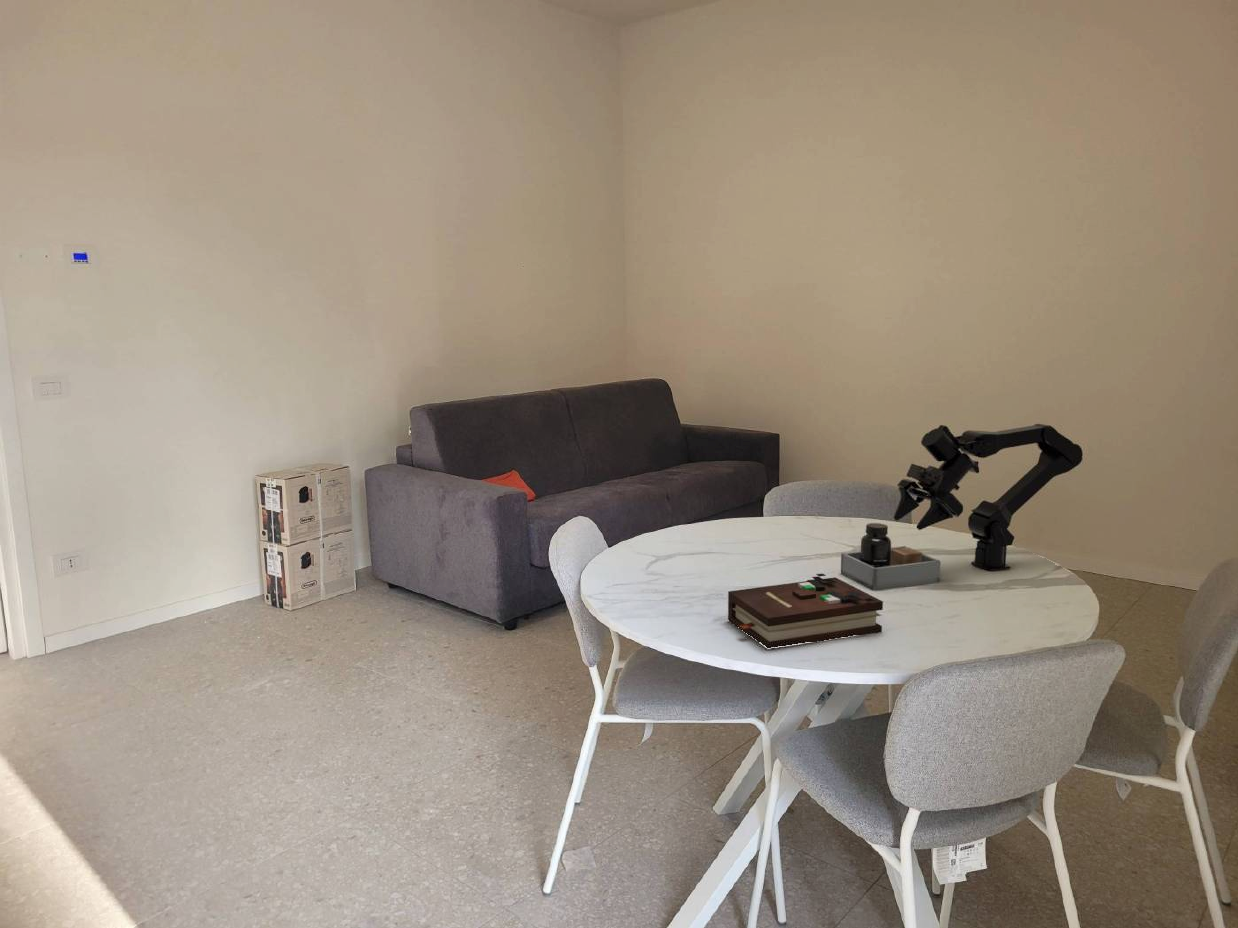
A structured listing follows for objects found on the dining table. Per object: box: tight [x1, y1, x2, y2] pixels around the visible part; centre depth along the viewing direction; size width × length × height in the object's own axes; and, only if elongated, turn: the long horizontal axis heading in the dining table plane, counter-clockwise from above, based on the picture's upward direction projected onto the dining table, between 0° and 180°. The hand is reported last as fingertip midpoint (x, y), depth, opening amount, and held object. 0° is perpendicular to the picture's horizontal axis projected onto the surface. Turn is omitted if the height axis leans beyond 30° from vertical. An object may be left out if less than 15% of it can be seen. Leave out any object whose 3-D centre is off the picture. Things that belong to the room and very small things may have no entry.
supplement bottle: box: [859, 522, 892, 568], centre depth 211 cm, size 7×7×12 cm
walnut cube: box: [890, 546, 923, 566], centre depth 215 cm, size 5×5×5 cm
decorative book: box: [727, 573, 884, 648], centre depth 183 cm, size 19×8×30 cm
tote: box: [840, 545, 941, 591], centre depth 213 cm, size 18×14×5 cm
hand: (906, 523), depth 213 cm, fingers open, 9 cm apart
